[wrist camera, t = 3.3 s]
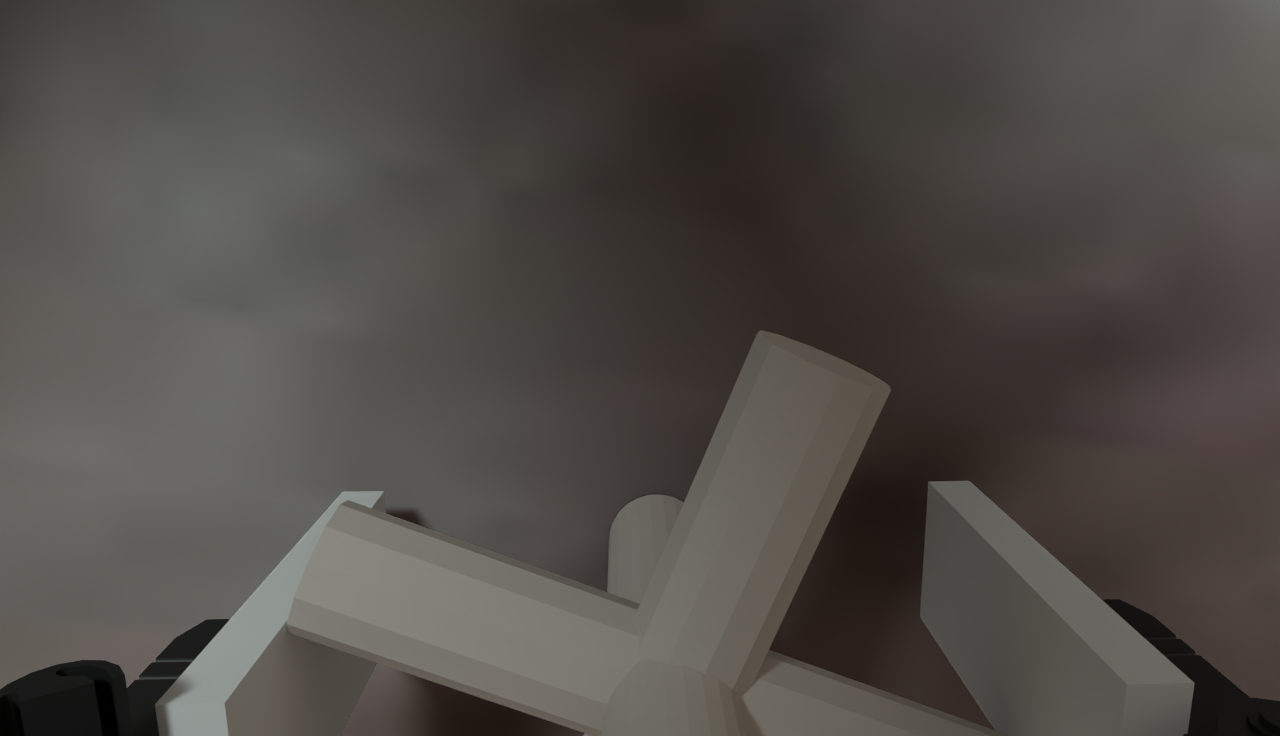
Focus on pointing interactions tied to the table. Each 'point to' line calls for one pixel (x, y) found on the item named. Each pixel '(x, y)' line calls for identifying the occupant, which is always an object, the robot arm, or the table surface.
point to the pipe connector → (640, 586)
